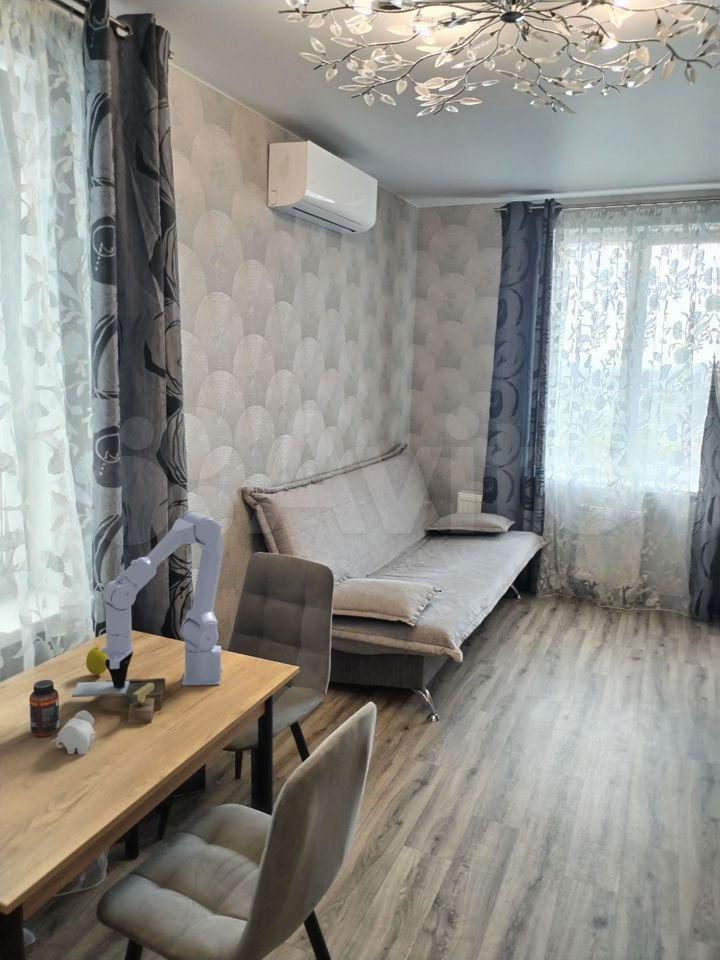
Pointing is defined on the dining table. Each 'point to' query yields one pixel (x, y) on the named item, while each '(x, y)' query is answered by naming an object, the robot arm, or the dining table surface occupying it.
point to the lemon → (96, 661)
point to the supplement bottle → (44, 709)
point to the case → (137, 712)
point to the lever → (140, 695)
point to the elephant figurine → (77, 733)
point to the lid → (98, 689)
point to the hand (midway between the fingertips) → (119, 684)
